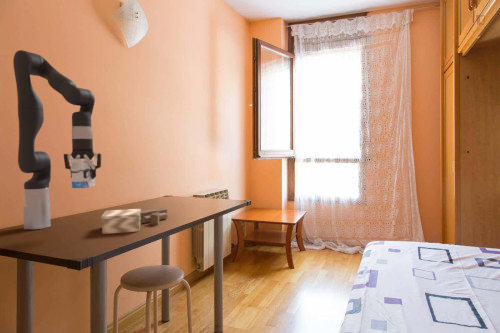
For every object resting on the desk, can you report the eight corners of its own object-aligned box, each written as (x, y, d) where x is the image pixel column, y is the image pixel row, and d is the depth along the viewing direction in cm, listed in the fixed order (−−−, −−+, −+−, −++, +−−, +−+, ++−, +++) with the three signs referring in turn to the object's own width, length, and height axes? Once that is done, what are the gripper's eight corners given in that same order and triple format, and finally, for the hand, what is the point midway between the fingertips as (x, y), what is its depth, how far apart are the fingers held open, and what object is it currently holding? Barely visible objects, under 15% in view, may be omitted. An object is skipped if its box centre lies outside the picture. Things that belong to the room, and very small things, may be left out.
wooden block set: (133, 210, 160) (164, 205, 174) (133, 222, 160) (164, 216, 174) (155, 213, 150) (186, 208, 164) (155, 226, 150) (187, 219, 164)
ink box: (82, 188, 135) (81, 158, 134) (71, 188, 136) (70, 158, 135) (96, 186, 143) (95, 158, 142) (85, 186, 144) (84, 158, 143)
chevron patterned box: (101, 234, 136) (100, 216, 136) (106, 226, 150) (105, 210, 150) (139, 231, 140) (139, 214, 139) (141, 224, 154) (140, 208, 154)
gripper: (60, 137, 133) (61, 180, 134) (100, 137, 137) (101, 179, 137) (65, 138, 140) (66, 179, 141) (102, 138, 144) (104, 177, 145)
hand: (83, 179), depth 139 cm, fingers closed on ink box, 6 cm apart
